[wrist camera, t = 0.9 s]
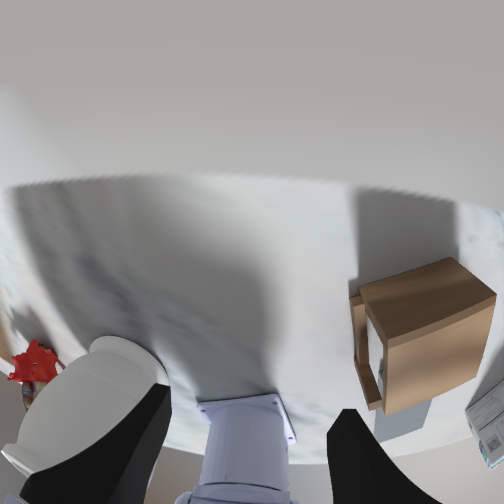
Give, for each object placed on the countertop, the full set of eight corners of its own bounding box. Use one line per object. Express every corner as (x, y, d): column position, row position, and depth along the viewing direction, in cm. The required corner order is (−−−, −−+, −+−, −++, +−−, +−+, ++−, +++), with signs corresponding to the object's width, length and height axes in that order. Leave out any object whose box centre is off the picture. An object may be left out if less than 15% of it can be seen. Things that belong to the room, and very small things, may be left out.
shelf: (453, 329, 20) (484, 371, 14) (354, 365, 21) (371, 420, 16) (459, 253, 17) (506, 289, 11) (345, 290, 19) (370, 345, 13)
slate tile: (417, 415, 25) (422, 427, 23) (372, 431, 26) (376, 443, 24) (433, 349, 21) (441, 362, 19) (377, 368, 22) (383, 384, 20)
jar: (65, 329, 22) (-19, 437, 8) (146, 315, 20) (52, 481, 6) (118, 403, 25) (71, 508, 11) (198, 402, 24) (165, 541, 10)
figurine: (86, 354, 29) (92, 444, 23) (19, 344, 25) (21, 432, 19) (78, 341, 23) (84, 455, 17) (-3, 328, 19) (-2, 437, 13)
